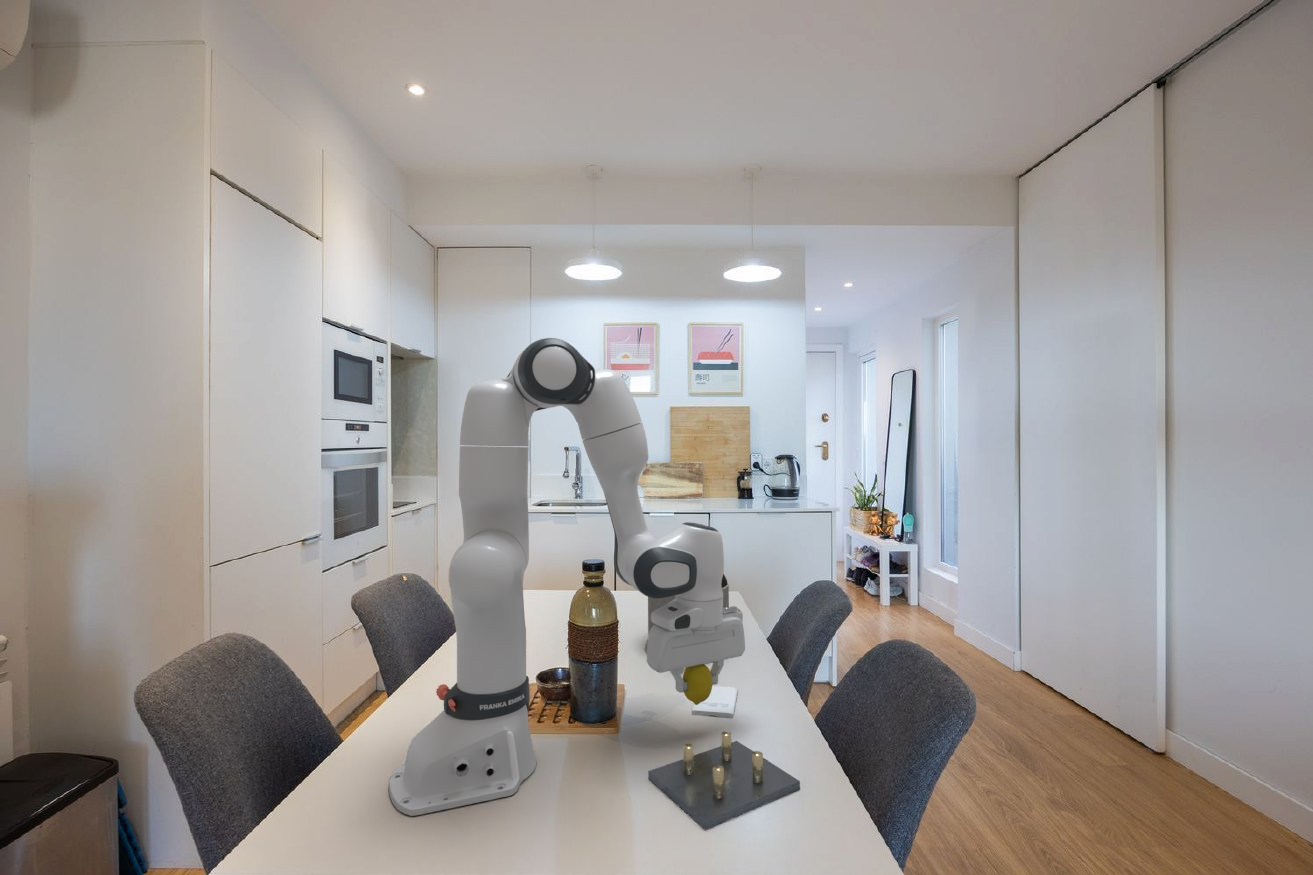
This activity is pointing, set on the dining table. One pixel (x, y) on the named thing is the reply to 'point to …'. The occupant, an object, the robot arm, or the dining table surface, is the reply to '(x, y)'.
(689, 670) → the lemon
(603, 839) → the dining table surface
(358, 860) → the dining table surface
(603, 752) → the dining table surface
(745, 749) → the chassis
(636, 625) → the dining table surface
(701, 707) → the external hard drive
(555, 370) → the robot arm
